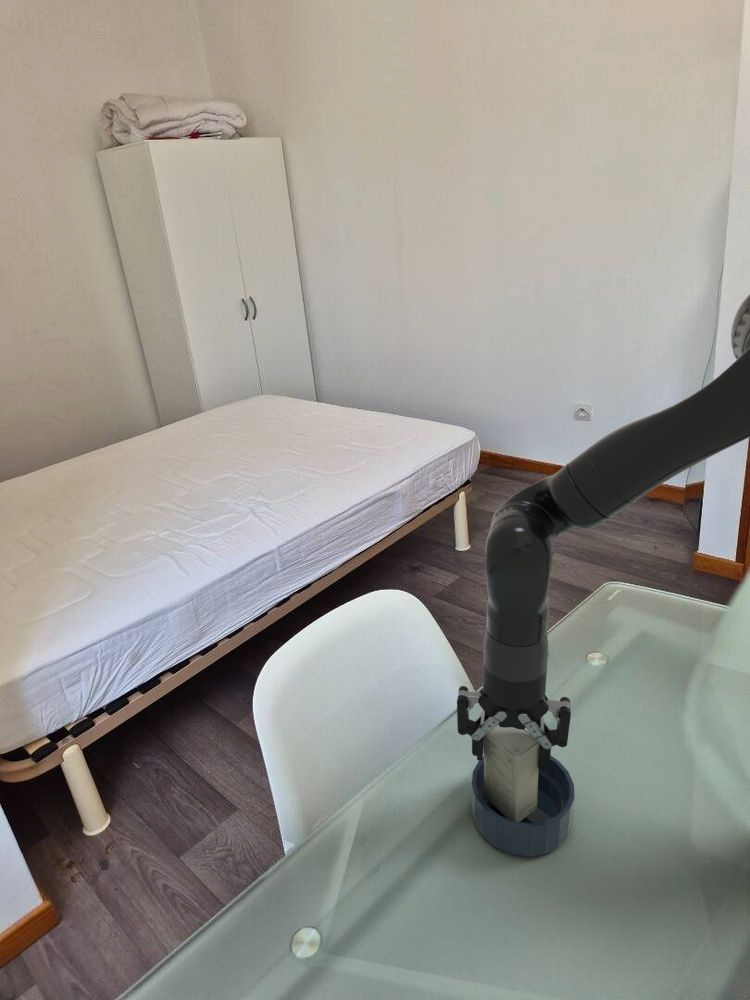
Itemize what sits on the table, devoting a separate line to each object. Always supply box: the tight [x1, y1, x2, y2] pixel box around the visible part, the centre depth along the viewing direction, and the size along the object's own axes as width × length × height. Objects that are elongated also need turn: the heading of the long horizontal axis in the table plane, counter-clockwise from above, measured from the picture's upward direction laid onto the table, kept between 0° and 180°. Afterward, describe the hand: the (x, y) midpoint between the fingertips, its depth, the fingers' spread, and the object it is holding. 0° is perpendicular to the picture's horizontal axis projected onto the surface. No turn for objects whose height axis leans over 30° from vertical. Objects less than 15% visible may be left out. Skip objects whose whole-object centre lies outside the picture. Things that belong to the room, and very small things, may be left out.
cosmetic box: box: [483, 725, 539, 822], centre depth 90 cm, size 6×4×12 cm
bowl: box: [470, 755, 575, 857], centre depth 92 cm, size 13×13×6 cm
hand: (510, 759), depth 89 cm, fingers closed on cosmetic box, 7 cm apart
